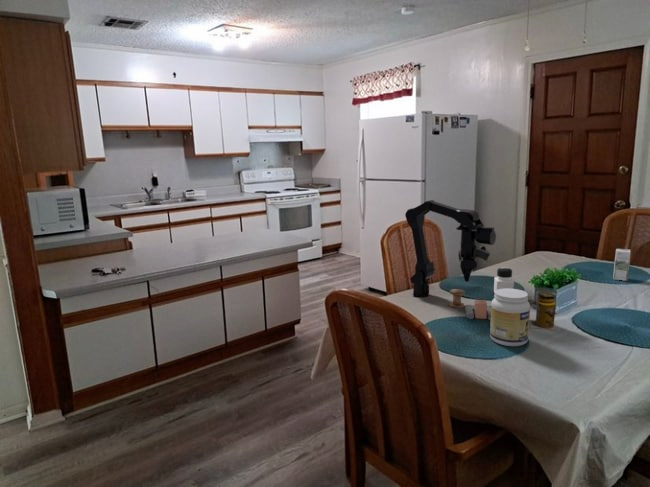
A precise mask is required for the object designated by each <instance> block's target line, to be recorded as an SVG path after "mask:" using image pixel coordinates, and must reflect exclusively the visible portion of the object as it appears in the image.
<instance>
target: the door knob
mask: <svg viewBox="0 0 650 487" xmlns="http://www.w3.org/2000/svg"><path fill="white" fill-rule="evenodd" d="M465 293H466V291H465V290H463V289H460V288H452V289H449V294H450V295H452V301H451V302H449V303H448V304H449V307H450V308H452V309H463V308H464V309H465V303H464V302H462V296H464V295H465Z"/></svg>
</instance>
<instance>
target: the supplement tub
mask: <svg viewBox="0 0 650 487" xmlns="http://www.w3.org/2000/svg"><path fill="white" fill-rule="evenodd" d="M528 300H529V294H528V293H527V292H526V291H525V290H521V289H518V288H514V289H510V288H504V289H498V290H496V291H495V293H494V295H493V298H492V301H491V305H490V306H491V320H490V329H489V330H490V331H489V336H490V339H491V340H492V341H493V342H495V343H497V344H498V345H501V346H507V347H520V346H523V345H525V344H527V343H528V340H529V330H530V328H529V327H530V324H529V320H530V312H531V303H530V302H529V301H528Z"/></svg>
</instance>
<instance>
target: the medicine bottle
mask: <svg viewBox="0 0 650 487" xmlns="http://www.w3.org/2000/svg"><path fill="white" fill-rule="evenodd" d="M496 272H497V274H496V276H494V278H493V279H494V281H493V282H494V283H493V292H494V294H495V291H496V290H498V289H504V288H510V289H515V281H514V280H513V269H511V268H510V267H500V268H497V271H496Z"/></svg>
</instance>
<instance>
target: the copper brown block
mask: <svg viewBox="0 0 650 487" xmlns="http://www.w3.org/2000/svg"><path fill="white" fill-rule="evenodd" d="M474 305H475V307H474V313H473V314H474V318H475V319H484V320H485V319H487V314H486V313H487V306H488V303H487V300H485V299H483V300H481V299H479V300H478V299H474Z"/></svg>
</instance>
